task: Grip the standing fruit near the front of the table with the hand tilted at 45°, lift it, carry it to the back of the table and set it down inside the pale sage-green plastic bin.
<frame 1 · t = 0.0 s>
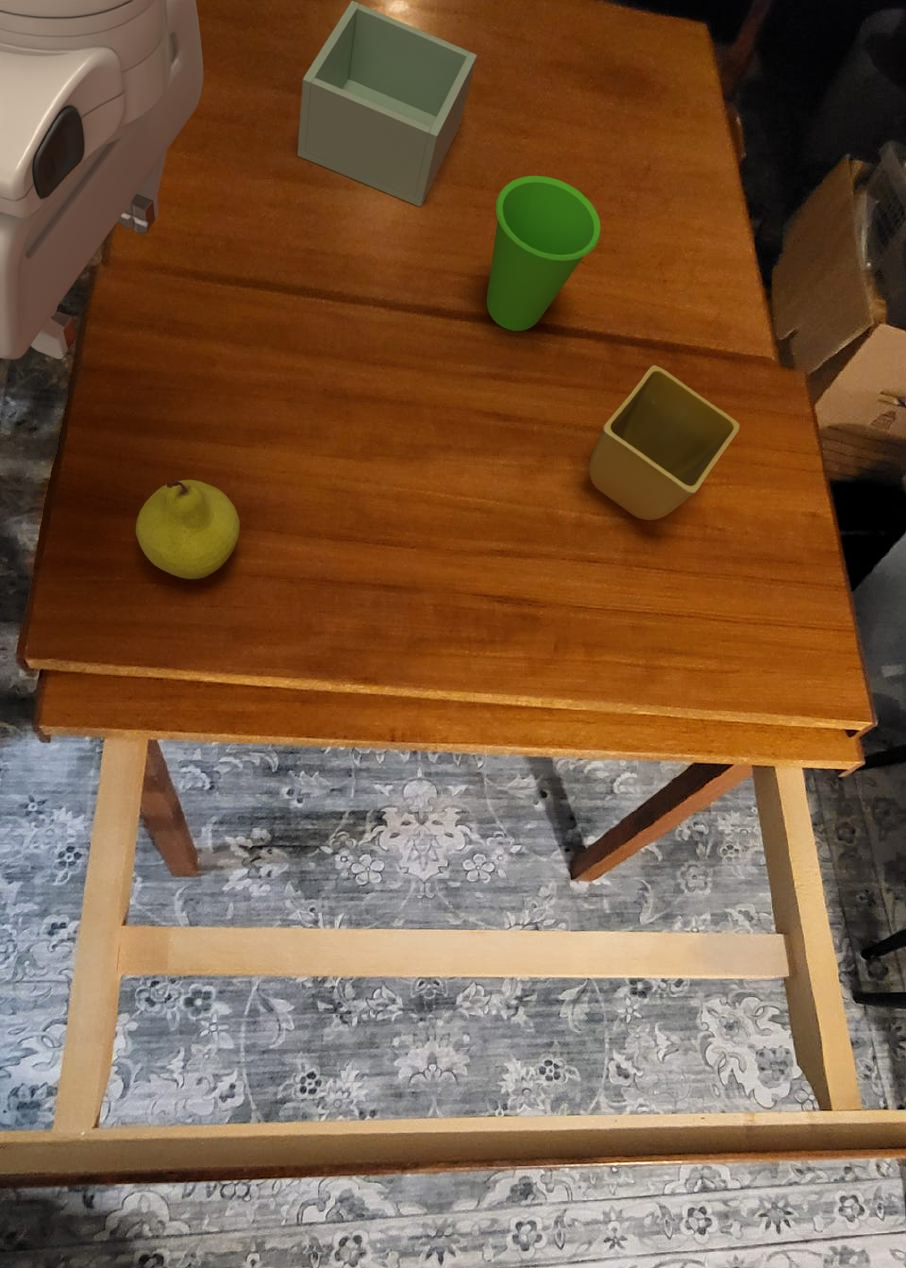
hand: (98, 280, 47), 23 cm above the table, tool pointing down, fingers open, 8 cm apart
flower pot: (628, 487, 79), on the table
cup: (512, 311, 84), on the table
fruit: (192, 553, 67), on the table
bin: (380, 141, 88), on the table
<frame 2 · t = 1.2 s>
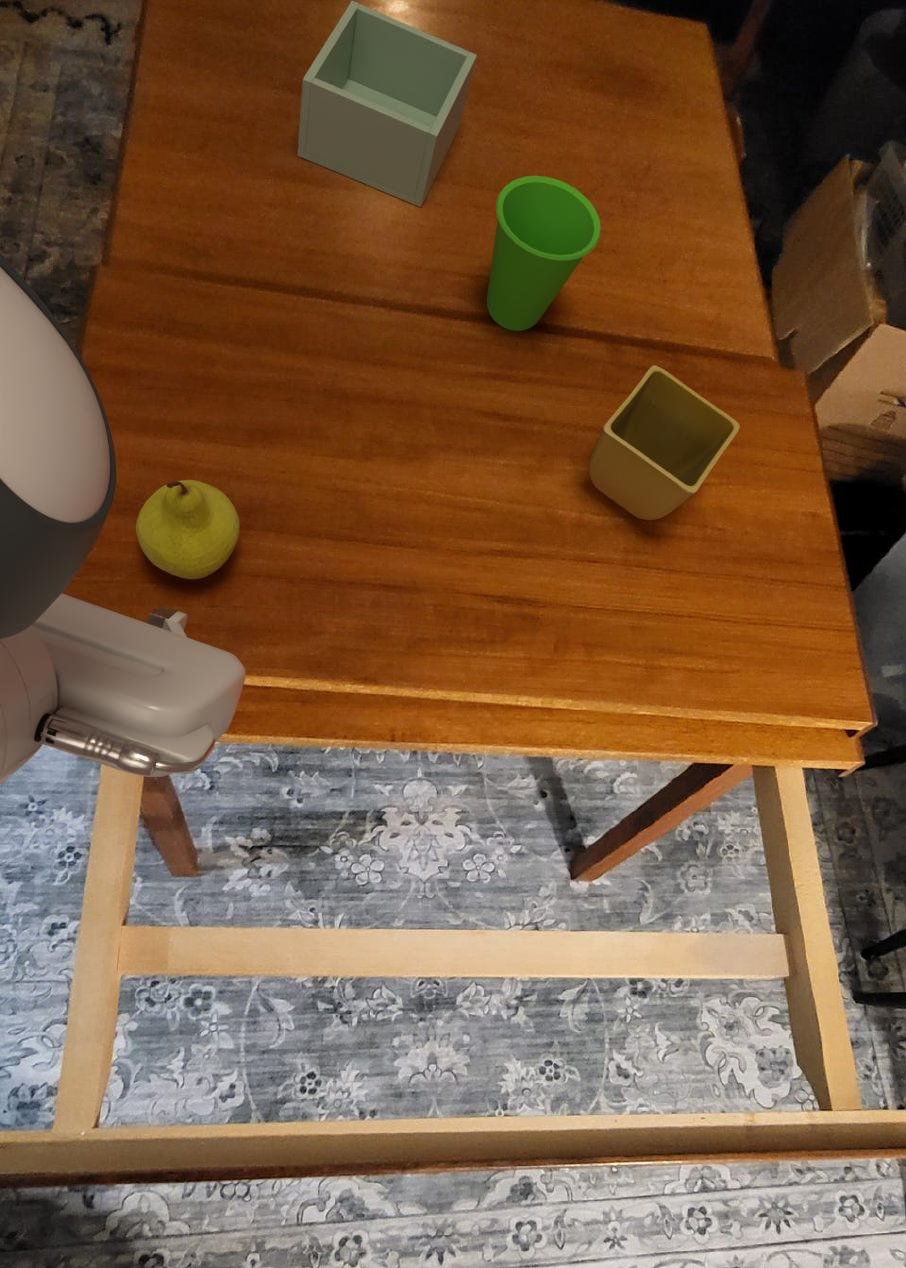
hand: (85, 591, 47), 17 cm above the table, tool tilted 45°, fingers open, 8 cm apart
nothing on the table moved.
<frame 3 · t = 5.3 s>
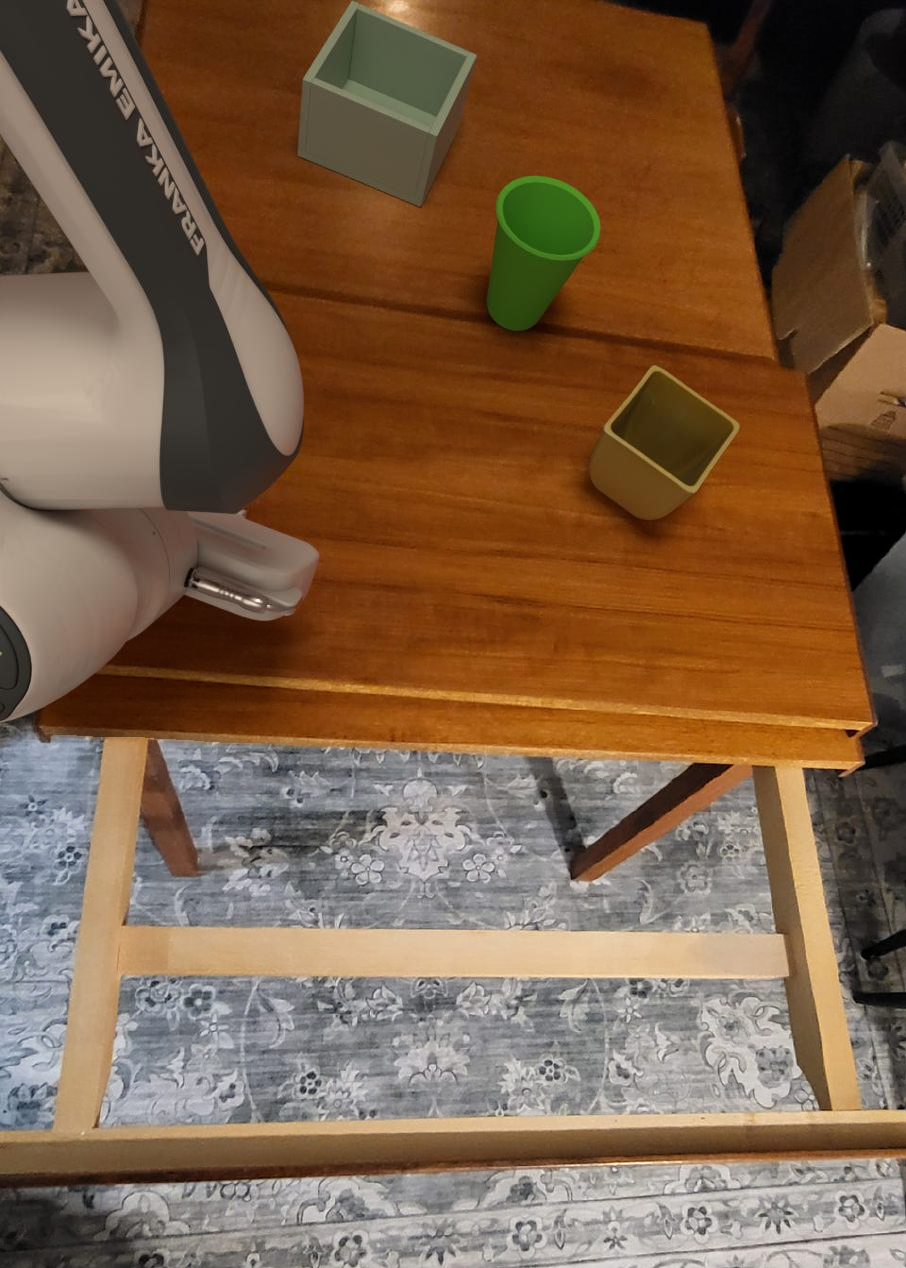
hand: (192, 501, 62), 6 cm above the table, tool tilted 45°, fingers closed on fruit, 5 cm apart
fruit: (192, 553, 67), on the table, touching gripper
everything else where it was.
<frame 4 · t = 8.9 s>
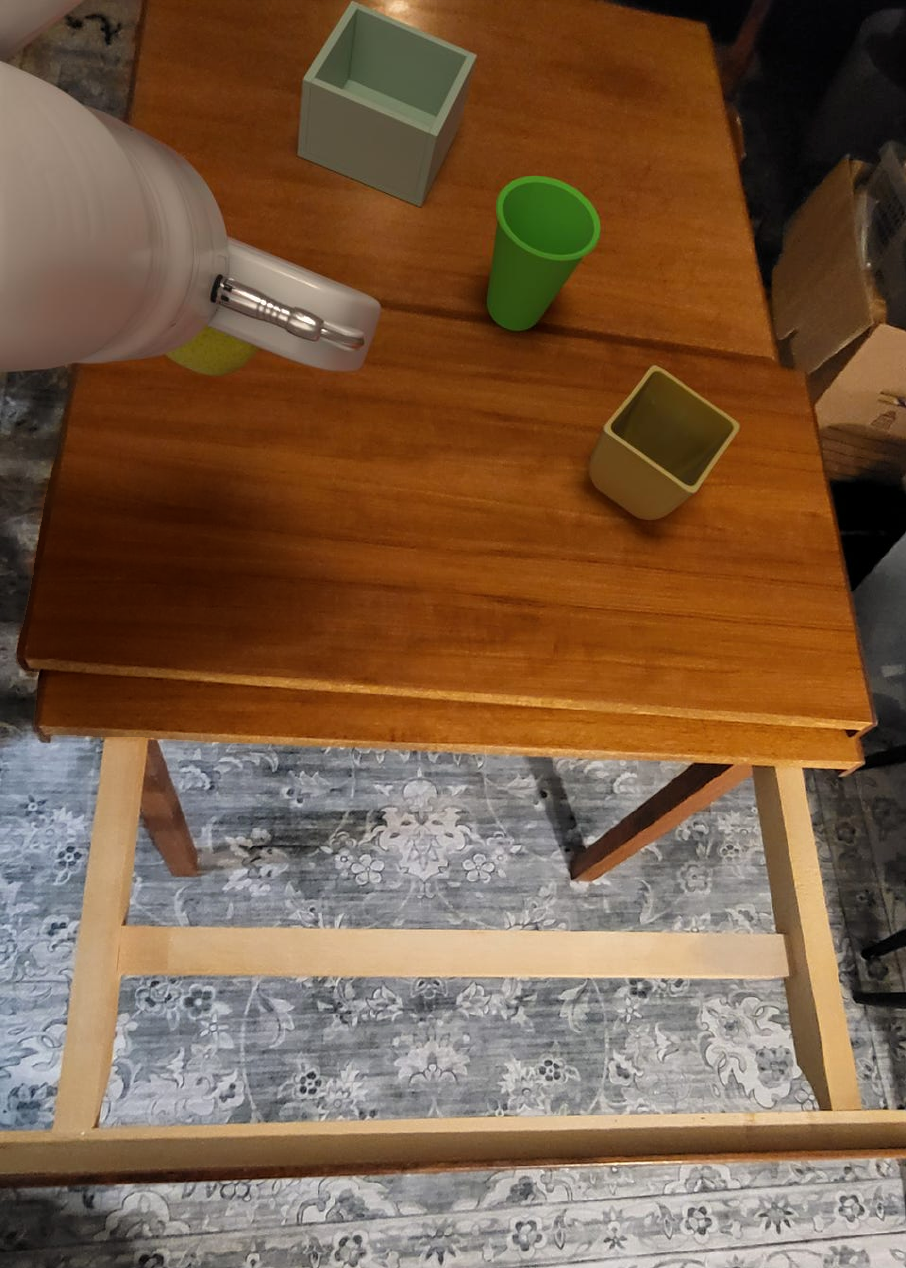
hand: (213, 264, 49), 23 cm above the table, tool tilted 45°, fingers closed on fruit, 5 cm apart
fruit: (210, 354, 55), point 17 cm above the table, touching gripper
everything else where it was.
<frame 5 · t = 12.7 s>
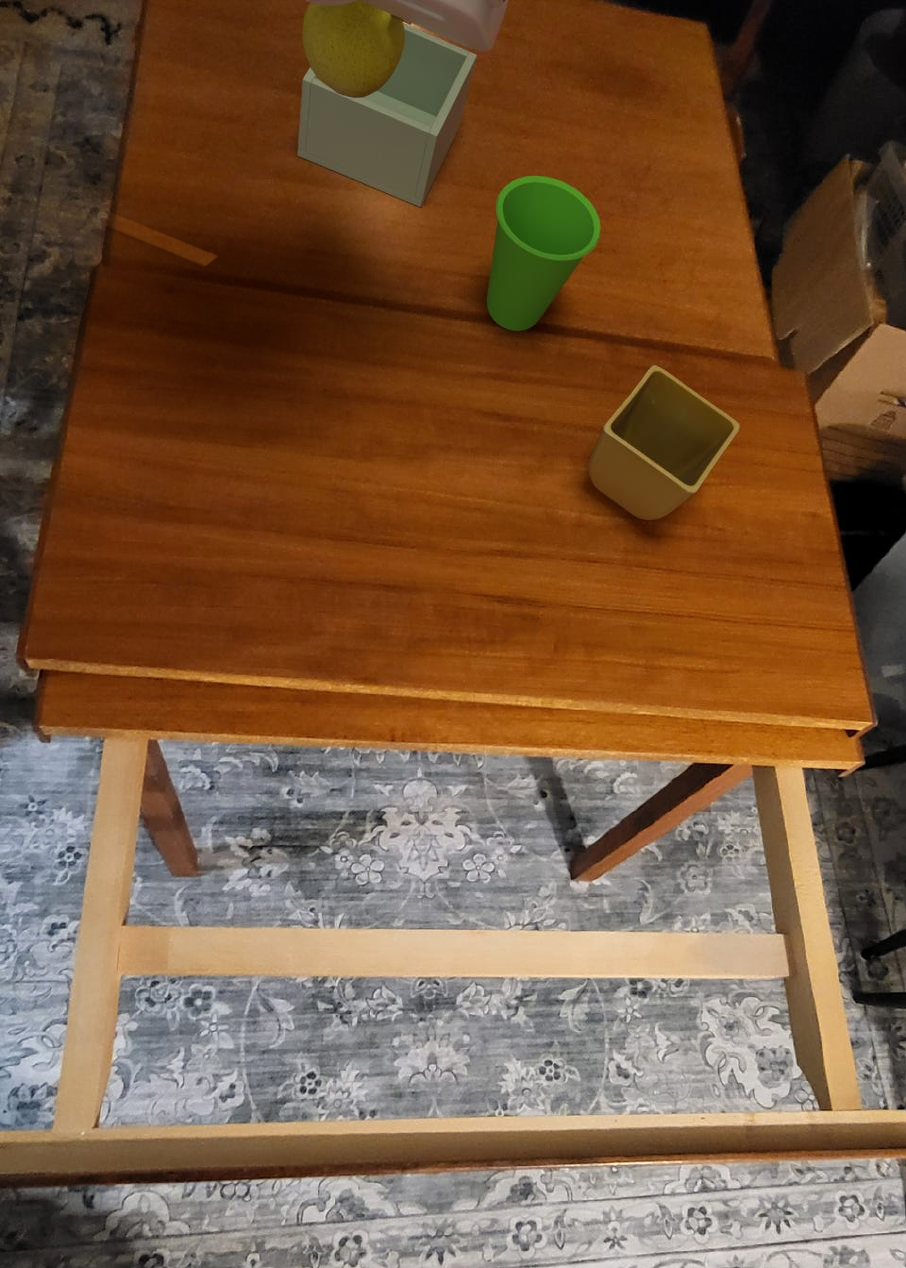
fruit: (348, 87, 66), point 17 cm above the table, touching gripper
everything else where it was.
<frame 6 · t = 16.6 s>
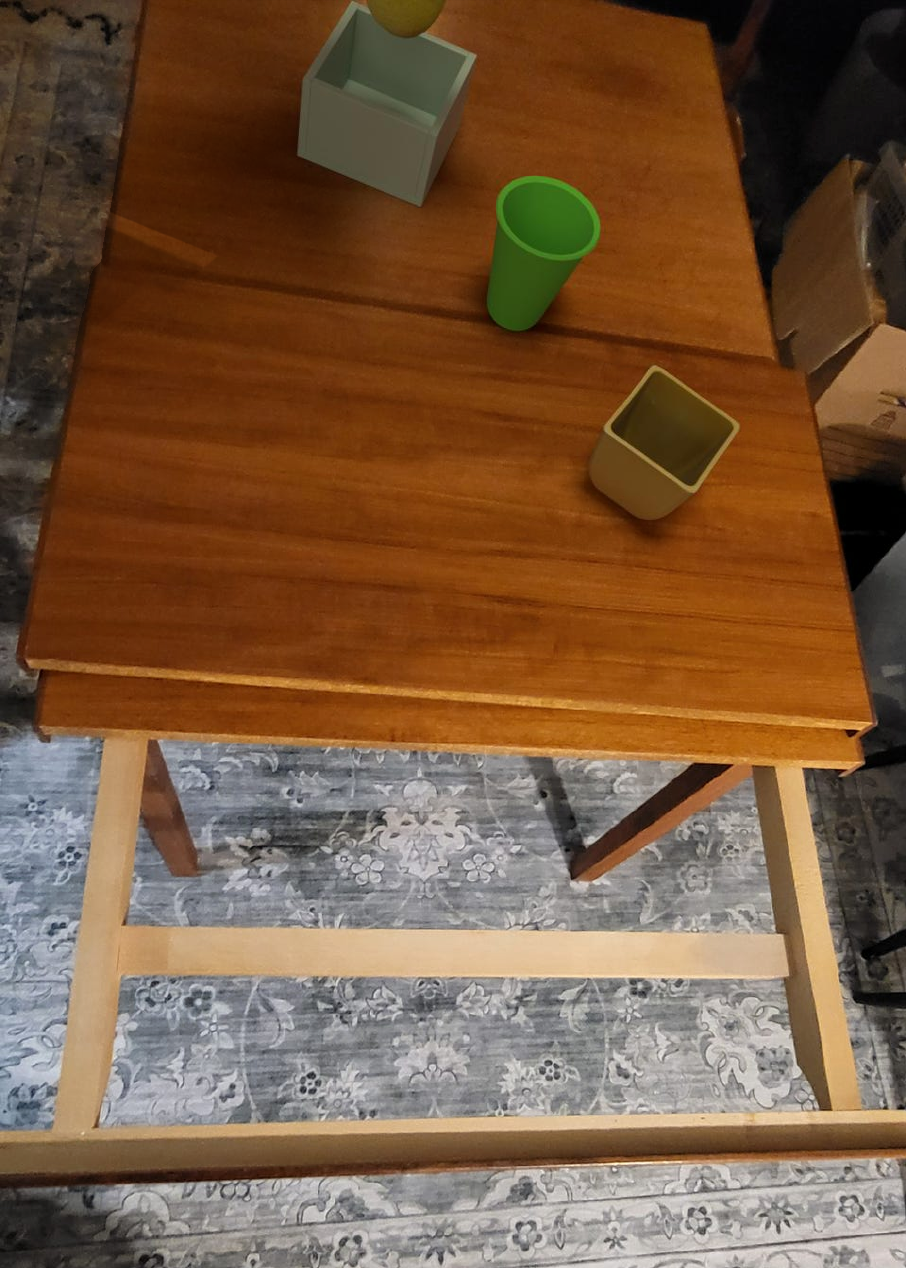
fruit: (399, 30, 78), point 11 cm above the table, touching gripper
everything else where it was.
when the fingers open (7 cm above the table, at t = 20.0 s): fruit stays where it is, resting on bin.
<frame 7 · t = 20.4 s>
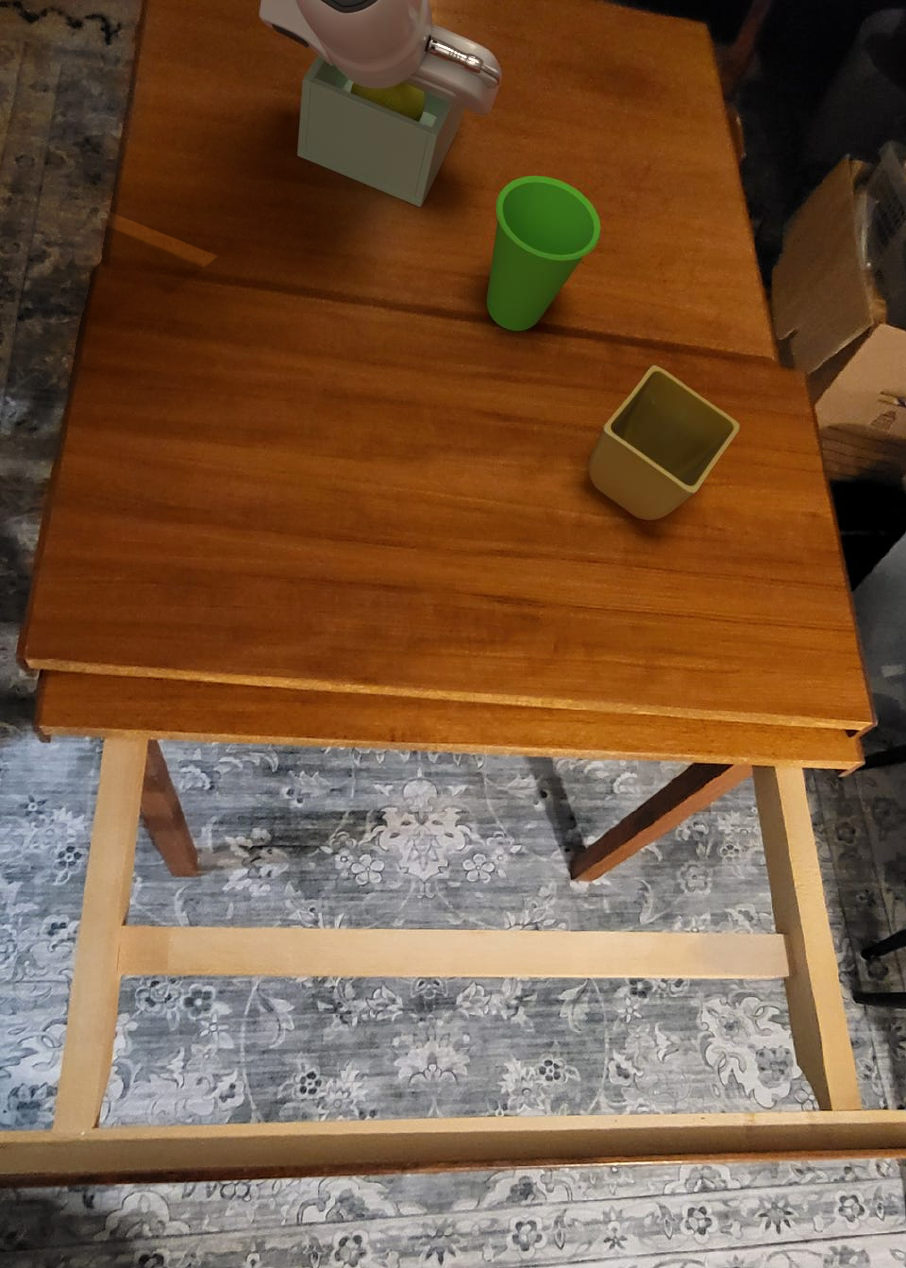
hand: (394, 66, 82), 7 cm above the table, tool tilted 45°, fingers open, 8 cm apart
fruit: (382, 136, 88), point 1 cm above the table, touching bin
everything else where it was.
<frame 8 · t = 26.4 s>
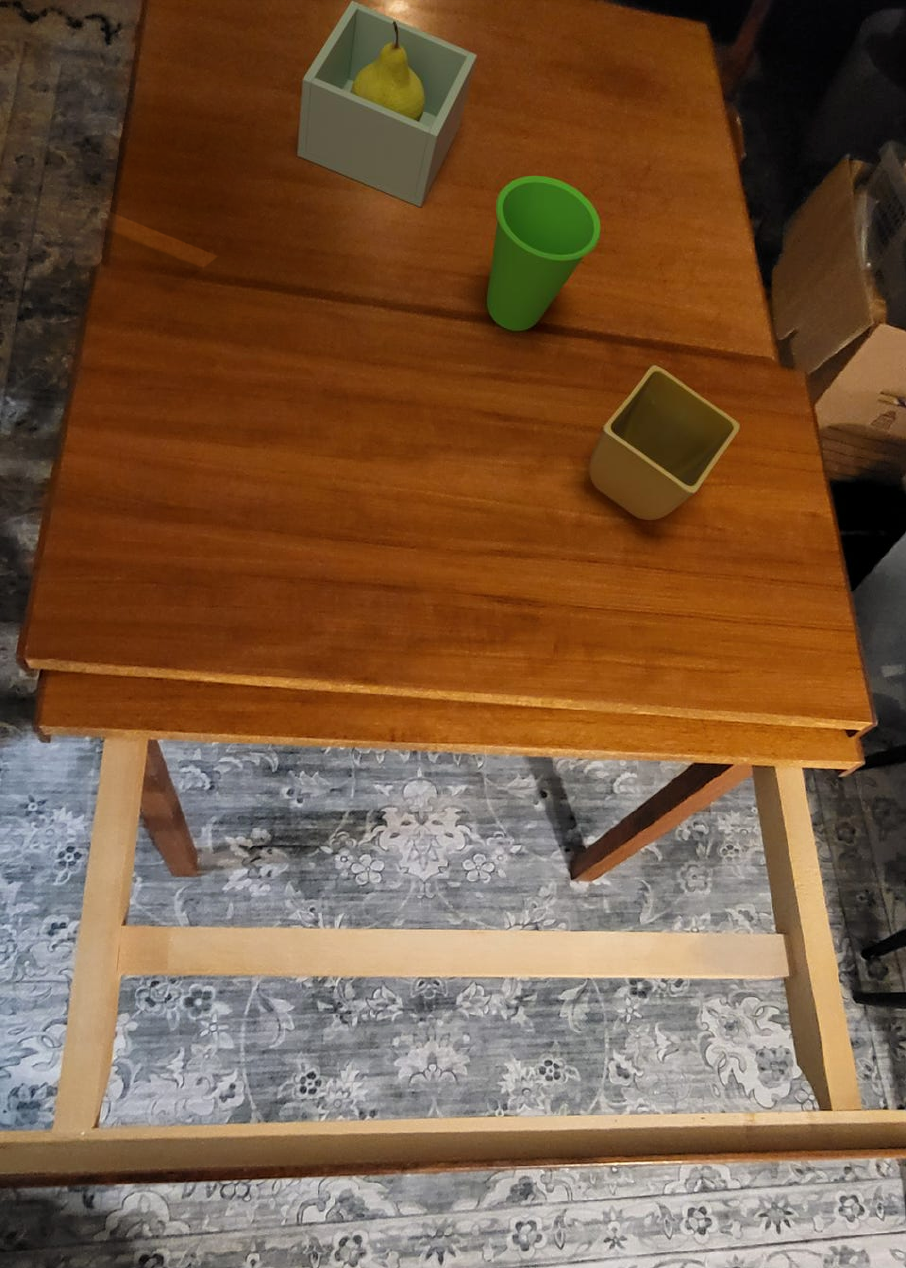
nothing on the table moved.
at the end: fruit inside the target area in the bin (0.1 cm from its centre), point 0.6 cm above the bin's base; the gripper is holding nothing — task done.
